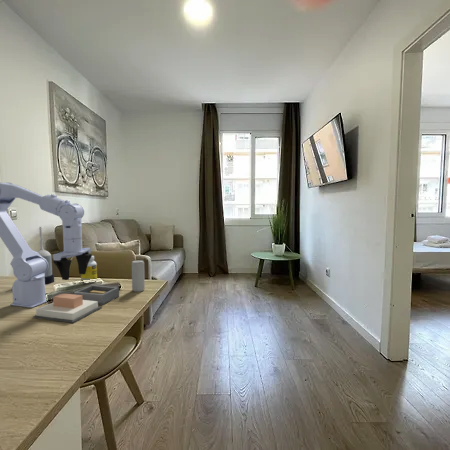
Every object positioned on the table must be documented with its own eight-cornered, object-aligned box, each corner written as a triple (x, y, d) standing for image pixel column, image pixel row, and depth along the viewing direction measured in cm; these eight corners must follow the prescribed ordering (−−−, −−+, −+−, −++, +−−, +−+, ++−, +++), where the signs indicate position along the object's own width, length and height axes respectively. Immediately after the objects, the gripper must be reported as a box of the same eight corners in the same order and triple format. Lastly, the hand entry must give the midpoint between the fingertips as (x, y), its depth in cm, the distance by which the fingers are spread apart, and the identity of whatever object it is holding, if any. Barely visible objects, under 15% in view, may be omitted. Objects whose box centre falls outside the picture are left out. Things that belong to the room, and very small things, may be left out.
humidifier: (37, 280, 123) (34, 226, 121) (57, 279, 125) (54, 226, 123) (28, 285, 115) (25, 227, 113) (50, 284, 117) (47, 227, 115)
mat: (32, 317, 83) (32, 316, 83) (64, 304, 94) (64, 302, 94) (73, 323, 79) (73, 321, 79) (101, 308, 91) (101, 306, 91)
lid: (36, 315, 83) (35, 299, 83) (64, 303, 93) (64, 289, 93) (72, 320, 80) (72, 303, 80) (98, 307, 90) (97, 292, 90)
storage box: (74, 301, 96) (73, 292, 96) (92, 293, 105) (91, 285, 105) (102, 305, 93) (102, 295, 93) (119, 296, 102) (118, 287, 102)
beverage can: (133, 288, 112) (133, 260, 111) (145, 288, 112) (145, 260, 111) (130, 292, 107) (130, 262, 106) (143, 292, 107) (142, 262, 107)
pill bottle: (90, 284, 117) (89, 258, 117) (77, 283, 119) (76, 257, 118) (100, 280, 124) (99, 255, 123) (88, 279, 125) (87, 254, 124)
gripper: (65, 241, 86) (67, 283, 87) (97, 236, 100) (98, 272, 101) (47, 240, 88) (49, 281, 89) (81, 235, 102) (82, 271, 103)
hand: (74, 276), depth 95 cm, fingers open, 7 cm apart
